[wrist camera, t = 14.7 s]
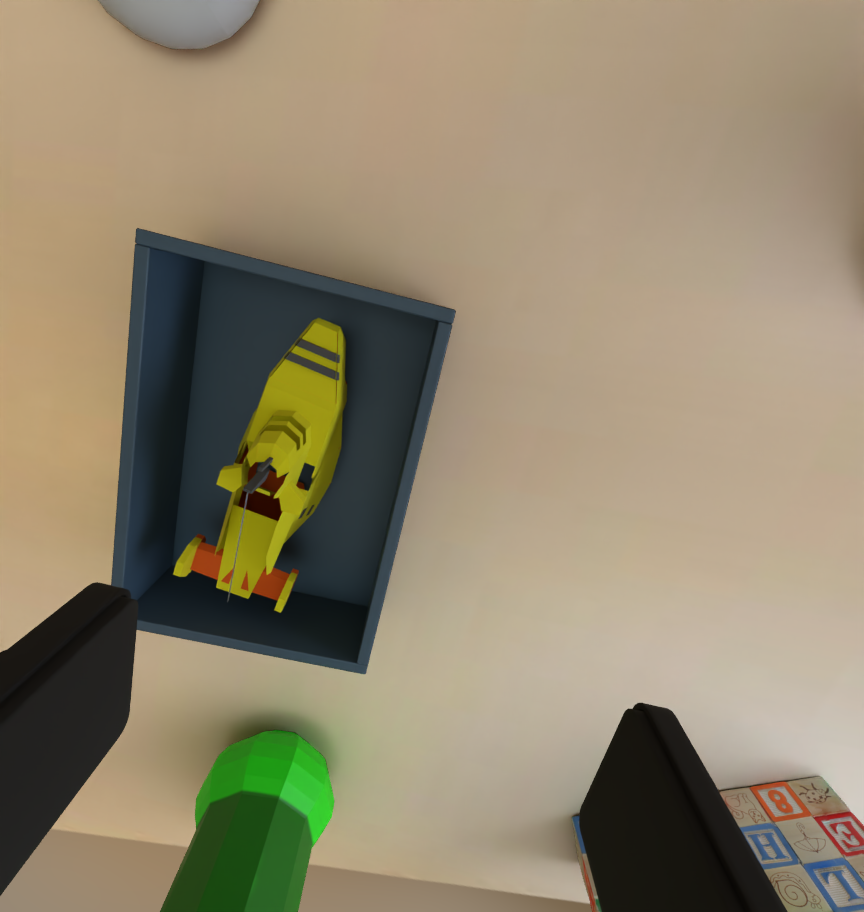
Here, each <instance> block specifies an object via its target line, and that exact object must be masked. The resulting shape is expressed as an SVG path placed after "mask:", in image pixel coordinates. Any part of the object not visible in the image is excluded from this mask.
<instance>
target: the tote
mask: <svg viewBox="0 0 864 912" xmlns="http://www.w3.org/2000/svg"><path fill="white" fill-rule="evenodd" d="M135 242H136V244H135V252H134V267H133V281H132V295H131V310H130V324H129V338H128V353H127V367H126V381H125V396H124V410H123V424H122V438H121V453H120V467H119V481H118V496H117V510H116V524H115V539H114V553H113V567H112V582H111V586H116V587H120V588H125V589H128V590H129V591H130V593H131V599H135V600H137V602H138V617H137V629H136V630H141V631H146V632H151V633H156V634H161V635H167V636H172V637H177V638H182V639H187V640H192V641H197V642H202V643H207V644H212V645H218V646H223V647H228V648H233V649H238V650H243V651H248V652H253V653H258V654H263V655H269V656H274V657H279V658H284V659H289V660H294V661H299V662H304V663H309V664H314V665H319V666H325V667H330V668H335V669H340V670H345V671H350V672H355V673H360V674H366V670H367V666H368V662H369V658H370V654H371V650H372V646H373V642H374V638H375V634H376V630H377V626H378V622H379V618H380V614H381V610H382V606H383V602H384V598H385V594H386V590H387V586H388V582H389V578H390V574H391V570H392V566H393V562H394V558H395V554H396V550H397V546H398V542H399V538H400V534H401V530H402V526H403V522H404V518H405V514H406V510H407V506H408V502H409V498H410V493H411V489H412V485H413V481H414V477H415V473H416V469H417V465H418V461H419V457H420V453H421V449H422V445H423V441H424V437H425V433H426V429H427V425H428V421H429V417H430V413H431V409H432V405H433V401H434V397H435V393H436V389H437V385H438V381H439V377H440V373H441V369H442V365H443V361H444V357H445V353H446V349H447V345H448V341H449V337H450V333H451V329H452V323H453V321H454V317H455V313H456V310H454V309H450V308H446V307H442V306H438V305H435V304H431V303H427V302H423V301H419V300H415V299H411V298H407V297H404V296H400V295H396V294H392V293H388V292H384V291H380V290H376V289H372V288H369V287H365V286H361V285H357V284H353V283H349V282H345V281H341V280H337V279H334V278H330V277H326V276H322V275H318V274H314V273H310V272H306V271H303V270H299V269H295V268H291V267H287V266H283V265H279V264H275V263H271V262H268V261H264V260H260V259H256V258H252V257H248V256H244V255H240V254H236V253H233V252H229V251H225V250H221V249H217V248H213V247H209V246H205V245H202V244H198V243H194V242H190V241H186V240H182V239H178V238H174V237H170V236H167V235H163V234H159V233H155V232H151V231H147V230H143V229H139V228H137V229H136V238H135ZM317 318H321V319H323V320H326V321H328V322H331V323H333V324H335V325H338V326H340V327H341V328H342V331H343V334H344V336H345V339H346V357H345V380H346V382H347V402H346V405H345V407H344V410H343V413H342V442H341V450H340V454H339V457H338V461H337V464H336V467H335V471H334V474H333V478H332V481H331V483H330V485H329V487H328V489H327V490H326V492H325V494H324V495H323V497H322V499H321V501H320V502H319V504H318V506H317V507H316V509H315V511H314V512H313V514H312V515H311V516H310V517H309V518H308V519H307V520H306V521H305V522H304V523H303V524H302V525H301V526H300V527H299V528H298V529H297V530H296V531H295V532H294V533H293V534H292V535H291V536H290V537H289V539H288V540H287V541H286V542H285V543H284V544H283V546H282V548H281V550H280V553H279V555H278V557H277V560H276V562H275V564H274V568H276V569H278V570H281V571H283V572H286V573H288V574H290V573H291V571H292V569H296V570H299V573H298V576H297V578H296V581H295V583H294V586H293V588H292V591H291V593H290V595H289V598H288V600H287V602H286V604H285V606H284V608H283V610H282V612H281V613H280V612H277V611H275V610H274V609H275V607H276V604H277V602H278V601H277V600H274V599H271V598H268V597H265V596H262V595H259V594H256V593H253V592H252V593H251V595H250V597H249V598H248V599H247V598H244V597H241V596H239V595H236V594H233V593H230V595H229V592H227V591H224V590H222V589H219V588H216V586H217V581H218V580H216V579H214V578H211V577H209V576H206V575H203V574H201V573H198V572H196V571H193V570H192V571H191V572H190V573H189V574H188V575H187V576H185V577H179V576H176V575H173V573H174V569H175V566H176V563H177V561H178V559H179V558H180V556H181V555H182V553H183V552H184V550H185V549H186V547H187V546H188V544H189V543H190V542H191V541H192V540H193V539H194V538H195V537H196V536H197V534H201V535H203V536H205V538H206V542H205V543H206V544H209V545H213V546H216V547H217V544H218V540H219V537H220V533H221V530H222V526H223V523H224V519H225V516H226V512H227V509H228V505H229V502H230V498H231V495H232V492H231V491H229V490H227V489H225V488H223V487H221V486H219V485H217V484H216V483H217V480H218V477H219V474H220V471H221V469H222V468H223V467H224V466H230V465H234V462H235V460H236V458H237V455H238V449H239V445H240V443H241V441H242V438H243V436H244V434H245V432H246V429H247V427H248V425H249V423H250V420H251V418H252V416H253V413H254V412H255V410H256V409H257V407H258V405H259V402H260V399H261V396H262V394H263V391H264V388H265V385H266V382H267V380H268V377H269V374H270V373H271V371H272V370H273V369H274V368H275V366H276V365H277V364H278V363H279V361H280V360H281V359H282V358H283V356H284V355H285V354H286V353H287V352H288V350H289V349H290V348H291V347H292V345H293V344H294V343H295V342H296V340H297V339H298V338H299V337H300V335H301V334H302V333H303V332H304V330H305V329H306V328H307V327H308V325H309V324H310V323H311V322H312V321H313V320H315V319H317ZM336 390H337V389H336ZM262 463H264V462H258V466H257V470H256V473H257V472H258V469H259V466H260V465H261V464H262ZM266 468H269V469H270V471H273V472H275V473H277V470H276V469H275V468H274V467H273V466H271V465H270V464H269V465H268V466H267V467H266ZM314 469H315V466H312V465H310V464H307V463H304V465H303V468H302V471H301V473H300V476H299V479H298V482H301V483H303V484H304V490H306V491H309V489H310V485H311V482H312V478H311V477H312V474H313V472H314ZM288 473H289V472H288ZM288 473H286V474H284V475H283V476H287V474H288ZM228 595H229V600H228ZM227 601H228V602H227Z"/></svg>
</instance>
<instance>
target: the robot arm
mask: <svg viewBox="0 0 864 912" xmlns="http://www.w3.org/2000/svg"><path fill="white" fill-rule="evenodd" d="M137 617H138V602H137V600H135V599H131V593H130V591H129V590H128V589H125V588H120V587H116V586H111V585H107V584H102V583H98V582H97V583H92V584H90V585H89V586H87V587H86V588H85V589H83V590H82V591H81V592H80V593H78V594H77V595H76V596H75V597H73V598H72V599H71V600H70V601H68V602H67V603H66V604H65V605H63V606H62V607H61V608H59V609H58V610H57V611H56V612H54V613H53V614H52V615H51V616H49V617H48V618H47V619H46V620H44V621H43V622H42V623H40V624H39V625H38V626H37V627H35V628H34V629H33V630H32V631H30V632H29V633H28V634H27V635H25V636H24V637H23V638H22V639H20V640H19V641H18V642H16V643H15V644H14V645H13V646H11V647H10V648H9V649H8V650H4V651H2V652H0V895H1V894H2V893H3V892H4V890H5V889H6V888H7V886H8V885H9V883H10V882H11V881H12V880H13V878H14V877H15V875H16V874H17V873H18V871H19V870H20V869H21V868H22V866H23V865H24V864H25V862H26V861H27V860H28V858H29V857H30V855H31V854H32V853H33V851H34V850H35V849H36V847H37V846H38V845H39V843H40V842H41V841H42V839H43V838H44V837H45V835H46V834H47V832H48V831H49V830H50V829H51V827H52V826H53V825H54V823H55V822H56V821H57V819H58V818H59V817H60V815H61V814H62V813H63V811H64V810H65V809H66V807H67V806H68V805H69V803H70V802H71V801H72V799H73V798H74V797H75V795H76V794H77V793H78V791H79V790H80V789H81V787H82V786H83V785H84V783H85V782H86V781H87V779H88V778H89V777H90V775H91V774H92V773H93V771H94V770H95V769H96V767H97V766H98V765H99V763H100V762H101V761H102V759H103V758H104V757H105V755H106V754H107V753H108V751H109V750H110V749H111V747H112V746H113V745H114V743H115V742H116V741H117V739H118V738H119V736H120V735H121V733H122V732H123V730H124V728H125V726H126V723H127V720H128V717H129V712H130V700H131V688H132V676H133V664H134V653H135V641H136V629H137ZM579 826H580V832H581V836H582V839H583V843H584V847H585V851H586V855H587V858H588V862H589V866H590V870H591V873H592V877H593V881H594V885H595V888H596V892H597V896H598V900H599V904H600V907H601V911H602V912H788V911H787V910H786V908H785V906H784V904H783V903H782V901H781V899H780V897H779V896H778V894H777V892H776V890H775V889H774V887H773V885H772V883H771V882H770V880H769V878H768V876H767V875H766V873H765V871H764V869H763V868H762V866H761V864H760V862H759V861H758V859H757V857H756V855H755V854H754V852H753V850H752V849H751V847H750V845H749V843H748V842H747V840H746V838H745V836H744V835H743V833H742V831H741V829H740V828H739V826H738V824H737V822H736V821H735V819H734V817H733V815H732V814H731V812H730V810H729V808H728V807H727V805H726V803H725V801H724V800H723V798H722V796H721V794H720V793H719V791H718V789H717V787H716V786H715V784H714V782H713V780H712V779H711V777H710V775H709V773H708V772H707V770H706V768H705V767H704V765H703V763H702V761H701V760H700V758H699V756H698V754H697V753H696V751H695V749H694V747H693V746H692V744H691V742H690V740H689V739H688V737H687V735H686V733H685V732H684V730H683V728H682V726H681V725H680V723H679V721H678V719H677V718H676V716H675V715H674V713H673V712H672V711H671V710H669V709H667V708H662V707H658V706H653V705H649V704H644V703H637V704H636V705H635V706H634V707H633V709H627V710H626V711H625V713H624V714H623V717H622V719H621V721H620V723H619V725H618V727H617V730H616V732H615V734H614V736H613V738H612V741H611V743H610V745H609V747H608V749H607V752H606V754H605V756H604V758H603V760H602V762H601V765H600V767H599V769H598V771H597V773H596V776H595V778H594V780H593V782H592V784H591V786H590V789H589V791H588V793H587V795H586V797H585V800H584V802H583V804H582V806H581V809H580V814H579Z"/></svg>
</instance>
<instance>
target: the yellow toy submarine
mask: <svg viewBox="0 0 864 912" xmlns="http://www.w3.org/2000/svg"><path fill="white" fill-rule="evenodd" d="M345 357H346V339H345V336H344V334H343V331H342V328H341V327H340V326H338V325H335V324H333V323H331V322H328V321H326V320H323V319H321V318H317V319H315V320H313V321H312V322H311V323H310V324H309V325H308V327H307V328H306V329H305V330H304V332H303V333H302V334H301V335H300V337H299V338H298V339H297V340H296V342H295V343H294V344H293V345H292V347H291V348H290V349H289V350H288V352H287V353H286V354H285V355H284V356H283V358H282V359H281V360H280V361H279V363H278V364H277V365H276V366H275V368H274V369H273V370H272V371H271V373H270V374H269V377H268V380H267V382H266V385H265V388H264V391H263V394H262V396H261V399H260V402H259V405H258V407H257V409H256V410H255V412H254V413H253V416H252V418H251V420H250V423H249V425H248V427H247V429H246V432H245V434H244V436H243V438H242V441H241V443H240V445H239V449H238V455H237V458H236V460H235V462H234V465H230V466H224V467H223V468H222V469H221V471H220V474H219V477H218V480H217V483H216V484H217V485H219V486H221V487H223V488H225V489H227V490H229V491H231V492H232V495H231V498H230V502H229V505H228V509H227V512H226V516H225V519H224V523H223V526H222V530H221V533H220V537H219V540H218V544H217V547H216V546H213V545H209V544H206V543H205V542H206V538H205V536H203V535H201V534H197V536H196V537H195V538H194V539H193V540H192V541H191V542H190V543H189V544H188V546H187V547H186V549H185V550H184V552H183V553H182V555H181V556H180V558H179V559H178V561H177V563H176V566H175V569H174V573H173V575H176V576H179V577H185V576H187V575H188V574H189V573H190V572H191V571H192V570H193V571H196V572H198V573H201V574H203V575H206V576H209V577H211V578H214V579H216V580H218V581H217V586H216V588H219V589H222V590H224V591H227V592H229V595H230V593H233V594H236V595H239V596H241V597H244V598H247V599H248V598H249V597H250V595H251V593H252V592H253V593H256V594H259V595H262V596H265V597H268V598H271V599H274V600H277V601H278V602H277V604H276V607H275V609H274V610H275V611H277V612H280V613H281V612H282V610H283V608H284V606H285V604H286V602H287V600H288V598H289V595H290V593H291V591H292V588H293V586H294V583H295V581H296V578H297V576H298V573H299V570H296V569H292V571H291V573H290V574H288V573H286V572H283V571H281V570H278V569H276V568H274V564H275V562H276V560H277V557H278V555H279V553H280V550H281V548H282V546H283V544H284V543H285V542H286V541H287V540H288V539H289V537H290V536H291V535H292V534H293V533H294V532H295V531H296V530H297V529H298V528H299V527H300V526H301V525H302V524H303V523H304V522H305V521H306V520H307V519H308V518H309V517H310V516H311V515H312V514H313V512H314V511H315V509H316V507H317V506H318V504H319V502H320V501H321V499H322V497H323V495H324V494H325V492H326V490H327V489H328V487H329V485H330V483H331V481H332V478H333V474H334V471H335V467H336V464H337V461H338V457H339V454H340V450H341V442H342V413H343V410H344V407H345V405H346V402H347V382H346V380H345ZM336 389H337V390H336ZM258 462H264V463H262V464H261V465H260V466H259V469H258V472H257V473H256V470H257V466H258ZM304 463H307V464H310V465H312V466H315V469H314V472H313V474H312V477H311V478H312V482H311V485H310V489H309V491H306V490H304V484H303V483H301V482H298V479H299V476H300V473H301V471H302V468H303V465H304ZM269 464H270V465H271V466H273V467H274V468H275V469H276V470H277V473H275V472H273V471H270V469H269V468H266V467H267V466H268V465H269ZM288 472H289V473H288ZM286 473H288V474H287V476H283V475H284V474H286ZM229 595H228V600H229ZM227 602H228V601H227Z"/></svg>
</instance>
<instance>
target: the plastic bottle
mask: <svg viewBox="0 0 864 912" xmlns="http://www.w3.org/2000/svg"><path fill="white" fill-rule="evenodd" d="M333 807H334V797H333V792H332V787H331V782H330V778H329V774H328V769H327V765H326V761H325V758H324V757H323V756H322V755H321V753H319V752H318V751H317V750H316V749H314V748H313V747H312V746H310V744H309V743H308V742H306V741H305V740H304V739H303V738H301V737H300V736H299V735H298V734H296V733H294V732H287V731H280V730H273V731H264V732H262V733H259V734H257V735H254V736H252V737H249V738H247V739H244V740H242V741H239V742H237V743H234V744H232V745H230V746H228V747H227V748H226V749H225V750H224V751H223V752H222V753H221V754H220V755H219V756H218V758H217V760H216V761H215V763H214V765H213V767H212V769H211V770H210V772H209V774H208V776H207V778H206V779H205V781H204V783H203V785H202V787H201V789H200V791H199V794H198V796H197V798H196V808H195V820H196V832H195V834H194V836H193V838H192V841H191V843H190V845H189V847H188V850H187V852H186V854H185V856H184V859H183V861H182V863H181V865H180V868H179V870H178V872H177V874H176V877H175V879H174V881H173V883H172V886H171V888H170V890H169V892H168V895H167V897H166V899H165V901H164V904H163V906H162V908H161V911H160V912H298V909H299V904H300V899H301V894H302V890H303V885H304V881H305V877H306V872H307V867H308V863H309V858H310V853H311V849H312V847H313V846H314V844H315V843H316V841H317V840H318V838H319V837H320V835H321V834H322V832H323V831H324V829H325V827H326V826H327V824H328V822H329V820H330V819H331V817H332V812H333Z"/></svg>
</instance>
